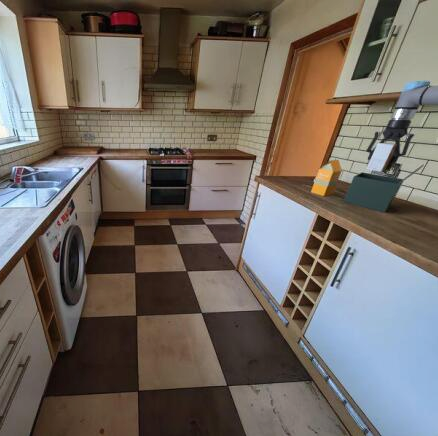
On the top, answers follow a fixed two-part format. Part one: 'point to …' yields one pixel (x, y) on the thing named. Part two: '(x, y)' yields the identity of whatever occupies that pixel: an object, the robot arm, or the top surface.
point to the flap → (411, 174)
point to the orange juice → (327, 178)
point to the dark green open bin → (373, 191)
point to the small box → (382, 156)
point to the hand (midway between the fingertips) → (377, 167)
